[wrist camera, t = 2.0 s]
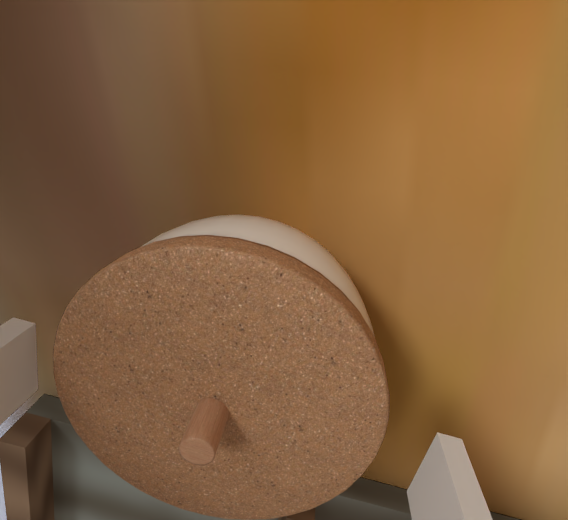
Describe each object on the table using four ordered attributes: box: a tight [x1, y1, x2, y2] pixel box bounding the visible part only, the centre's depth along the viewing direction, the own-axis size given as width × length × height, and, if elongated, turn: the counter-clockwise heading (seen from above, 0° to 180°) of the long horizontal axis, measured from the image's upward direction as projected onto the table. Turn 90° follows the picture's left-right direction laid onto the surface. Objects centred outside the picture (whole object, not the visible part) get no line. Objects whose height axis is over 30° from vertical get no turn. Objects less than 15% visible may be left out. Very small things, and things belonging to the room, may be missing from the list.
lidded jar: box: [53, 214, 390, 520], centre depth 15 cm, size 11×11×9 cm
